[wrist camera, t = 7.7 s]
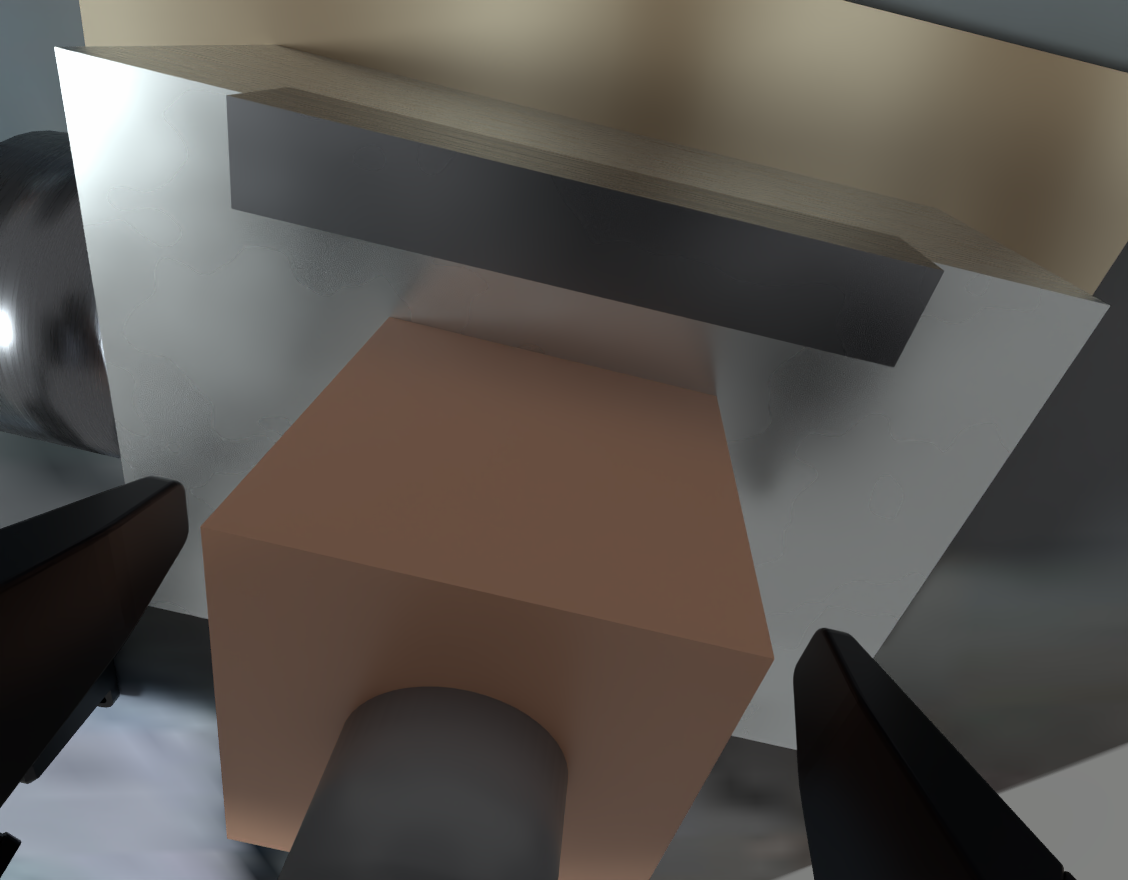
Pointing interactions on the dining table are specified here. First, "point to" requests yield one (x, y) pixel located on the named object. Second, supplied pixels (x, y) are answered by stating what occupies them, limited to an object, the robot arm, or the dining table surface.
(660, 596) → the brown block with knob
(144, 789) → the dining table surface
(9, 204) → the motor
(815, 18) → the mounting board
